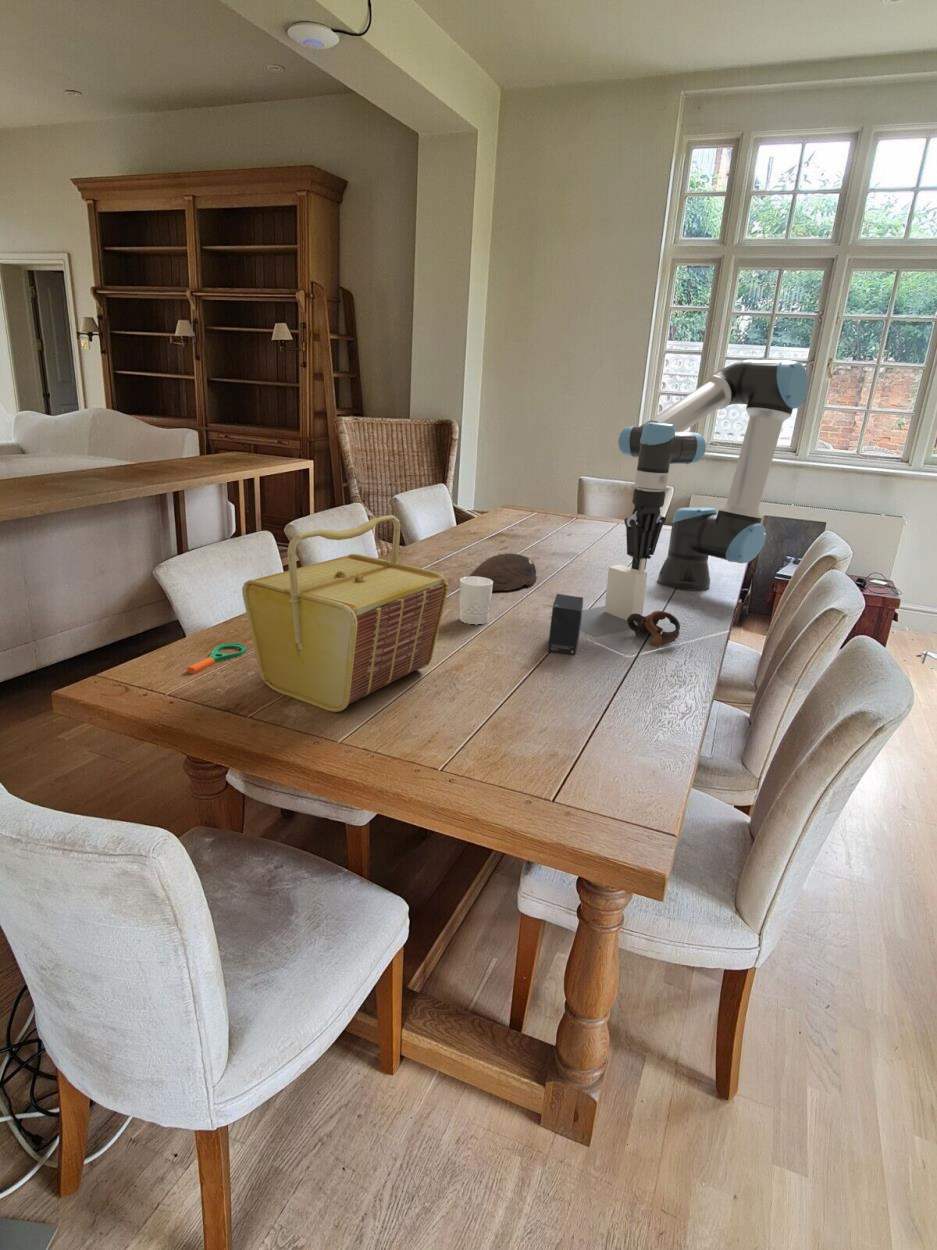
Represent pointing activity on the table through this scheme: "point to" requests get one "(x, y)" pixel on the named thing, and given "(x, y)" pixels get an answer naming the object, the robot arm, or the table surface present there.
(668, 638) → the brown curved piece
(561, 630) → the small box
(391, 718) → the table surface
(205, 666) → the magnifying glass
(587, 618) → the mat
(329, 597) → the picnic basket
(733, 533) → the robot arm
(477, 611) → the white cup
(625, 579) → the tall block
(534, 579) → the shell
